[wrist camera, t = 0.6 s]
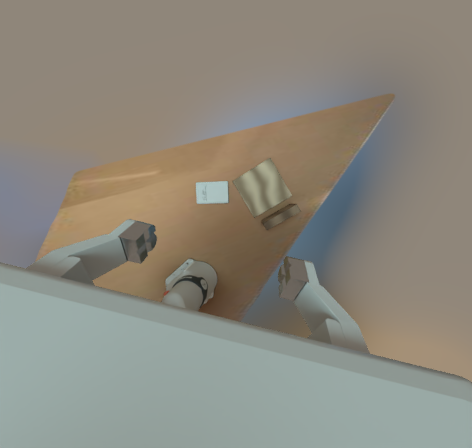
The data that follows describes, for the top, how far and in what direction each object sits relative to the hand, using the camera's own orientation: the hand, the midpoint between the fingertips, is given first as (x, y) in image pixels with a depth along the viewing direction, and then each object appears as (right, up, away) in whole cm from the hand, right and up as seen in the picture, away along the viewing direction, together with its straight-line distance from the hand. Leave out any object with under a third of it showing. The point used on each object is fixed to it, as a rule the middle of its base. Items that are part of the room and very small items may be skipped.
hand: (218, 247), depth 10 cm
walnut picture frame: (+17, +5, +54) cm, 57 cm away
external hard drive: (-8, +14, +56) cm, 59 cm away
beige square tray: (+11, +15, +53) cm, 56 cm away
